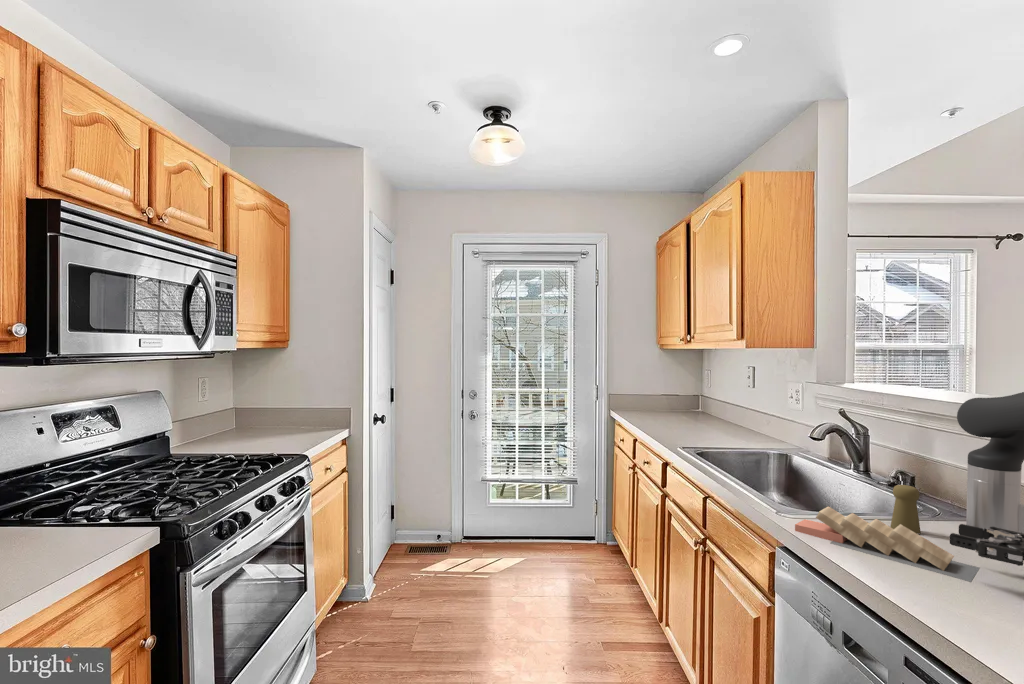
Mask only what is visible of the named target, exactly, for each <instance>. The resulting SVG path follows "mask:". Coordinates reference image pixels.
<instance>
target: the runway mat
mask: <svg viewBox="0 0 1024 684" xmlns="http://www.w3.org/2000/svg"><path fill="white" fill-rule="evenodd" d="M829 544H830V545H835V546H837V547H842V548H846V549H849V550H852V551H856V552H860V553H863V554H867V555H871V556H874V557H878V558H883V559H885V560H889V561H893V562H897V563H900V564H903V565H907V566H911V567H915V568H918V569H922V570H924V571H930V572H933V573H936V574H940V575H944V576H947V577H951V578H955V579H958V580H962V581H965V582H969V583H971V582H972V581H973V580H974V578H975V576H976V575H977V573H978V572H979V569H980V567H979V566H975V565H971V564H969V563H968V564H967V563H963V562H959V561H956V560H953V559H952V560H951V562H950V563H949V565H948V566H947V567H946V568H945V570H944V571H943V570H941V569H940V568H938V567H936V566H935V565H933V564H932V563H930V562H928V561H927V560H925V559H923V558H922V557H921V558H920V559H919V560H918V561H917V562H916V563H914V562H913V561H911V560H909V559H908V558H906V557H905V556H903V555H901V554H900V553H898V552H897V551H895V550H894V551H893V552H892V553H891V554H890V555H889V556H887V555H886V554H884V553H883V552H881V551H880V550H878V549H877V548H875V547H874V546H872V545H871V544H869V543H866V544H865V545H864V546H862V547H860V546H858V545H857V544H855V543H854V542H852V541H851V540H849V539H848V540H847V541H845V542H844V543H839V542H835V541H830V542H829Z"/></svg>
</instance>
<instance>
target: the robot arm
mask: <svg viewBox="0 0 1024 684" xmlns="http://www.w3.org/2000/svg"><path fill="white" fill-rule="evenodd" d="M956 419H957V423H958V425H959V426H960V428H961V429H962V430H963V431H964V432H965V433H967V434H969V435H971V436H974V437H978V438H988V439H990V440H989V442H988V443H987V444H985V445H984V446H982V447H979V448H977V449H973V450H971V451H969V452H968V453H967V471H966V472H967V474H966V477H967V481H966V518H965V519H966V520H965V521H966V522H965V523H966V524H964V523H959V525H958V533H954V532H951V533H950V535H949V544H950V545H951V546H953V547H958V548H962V549H967V550H971V551H975V553H977V556H979V557H980V558H986V559H990V560H994V561H998V562H1003V563H1008V564H1013V565H1016V566H1019V567H1020V566H1021V567H1022V566H1024V504H1023V503H1022V499H1021V498H1022V467H1023V463H1024V391H1023V392H1018V393H1014V394H1010V395H1005V396H998V397H997V396H995V397H973V398H970V399H967V400H965V401H964V402H963V403H962V404H961V405H960V406H959V407H958V409H957V413H956Z"/></svg>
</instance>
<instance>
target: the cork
mask: <svg viewBox="0 0 1024 684" xmlns="http://www.w3.org/2000/svg"><path fill="white" fill-rule="evenodd" d="M892 495H893V496H894V498H895V499H894V503H893V504H894V505H893V510H892V511H893V512H892V517H891V523H890V526H889V527H891V528H892V529H895V528H896V527H897V526H899V525H900V524H901V525H903V526H904V527H906V528H908V529H909V530H911V531H913V532H915V533H916V534H918V535H920V534H921V527H920V526H921V524H920V517H919V516H920V515H919V510H918V502H917V501H919V499H920V491H919V489H918V488H916V487H914V486H912V485H907V484H897V485H894V486H893V489H892Z"/></svg>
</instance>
